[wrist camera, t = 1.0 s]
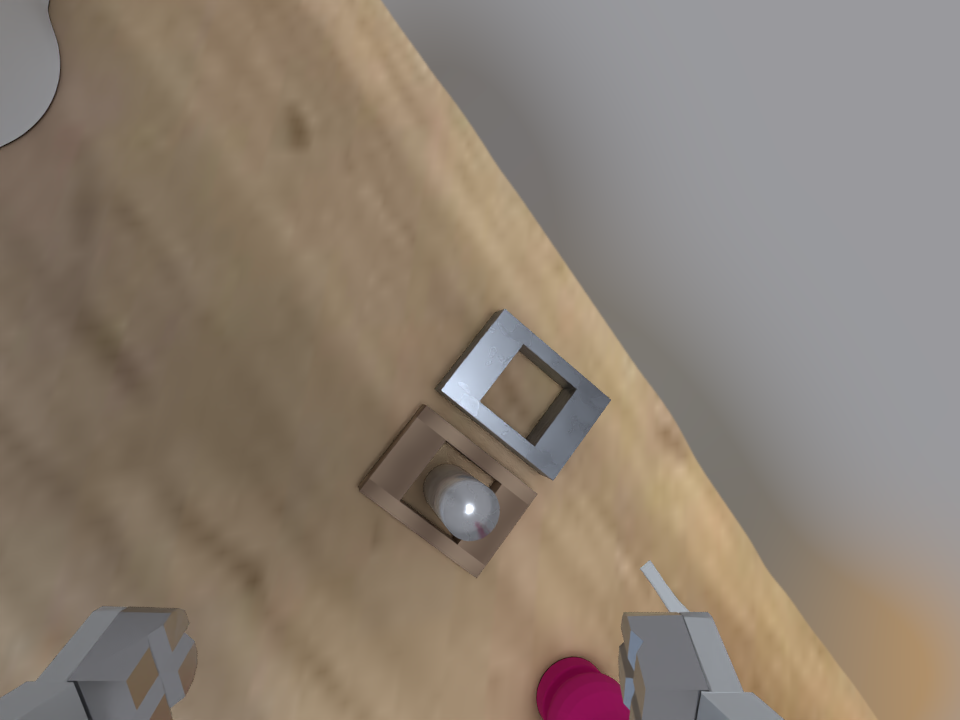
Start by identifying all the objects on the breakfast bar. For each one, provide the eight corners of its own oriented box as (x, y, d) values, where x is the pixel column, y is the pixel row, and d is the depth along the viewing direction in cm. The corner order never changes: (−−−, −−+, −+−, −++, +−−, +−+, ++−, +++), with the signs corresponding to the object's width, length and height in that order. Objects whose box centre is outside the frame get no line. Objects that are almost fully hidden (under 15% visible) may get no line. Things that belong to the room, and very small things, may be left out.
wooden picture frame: (358, 486, 48) (359, 491, 46) (422, 404, 49) (426, 405, 48) (471, 570, 50) (476, 578, 48) (529, 489, 52) (537, 493, 50)
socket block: (434, 389, 50) (441, 390, 47) (494, 312, 51) (504, 308, 48) (540, 474, 52) (553, 480, 49) (595, 398, 53) (611, 399, 50)
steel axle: (413, 493, 49) (431, 518, 40) (443, 454, 50) (467, 471, 41) (450, 521, 50) (476, 552, 41) (479, 482, 51) (510, 505, 42)
